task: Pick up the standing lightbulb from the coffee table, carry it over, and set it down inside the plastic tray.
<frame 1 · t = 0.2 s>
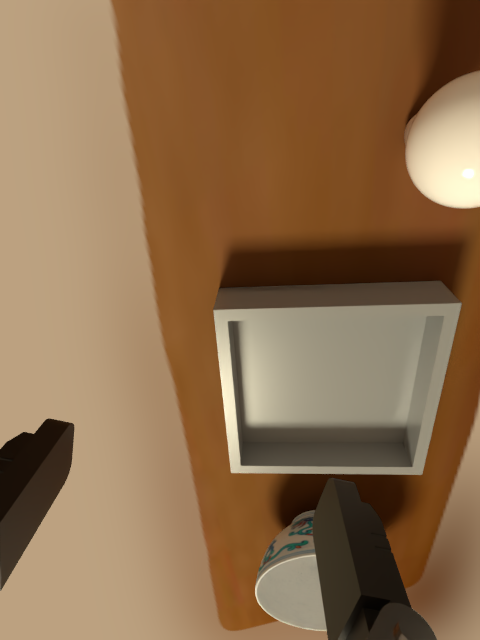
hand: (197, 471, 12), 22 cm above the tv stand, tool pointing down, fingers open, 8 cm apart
lightbulb: (420, 131, 27), on the tv stand
chinaware: (318, 525, 49), on the tv stand
tray: (323, 372, 37), on the tv stand
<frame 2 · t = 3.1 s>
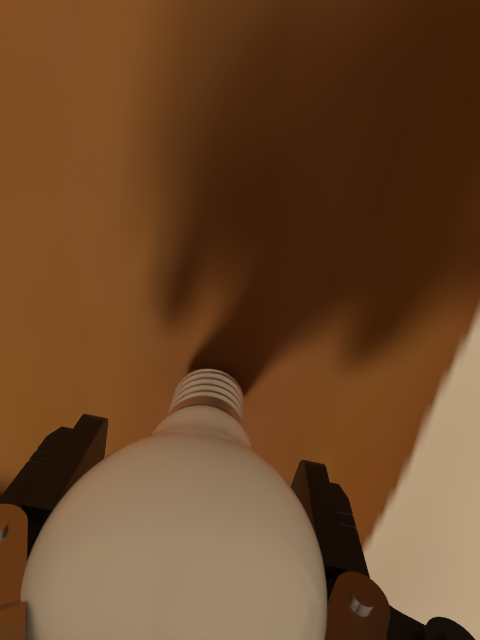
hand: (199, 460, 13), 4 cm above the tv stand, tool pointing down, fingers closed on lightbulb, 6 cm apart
lightbulb: (210, 386, 16), on the tv stand, touching gripper
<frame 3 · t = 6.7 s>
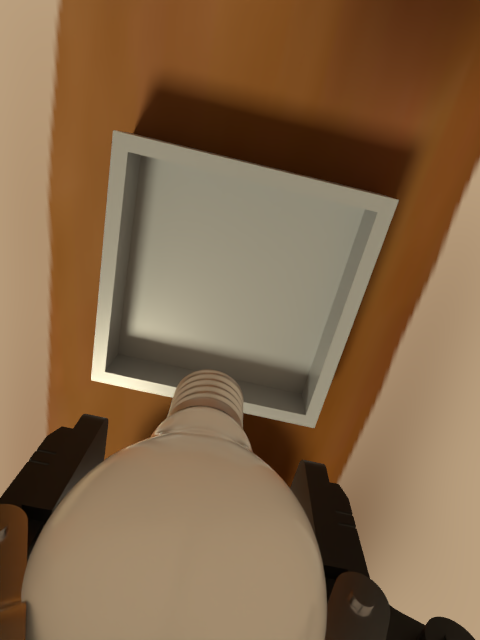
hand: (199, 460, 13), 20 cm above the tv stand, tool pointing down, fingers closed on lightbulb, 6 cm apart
lightbulb: (210, 387, 16), point 16 cm above the tv stand, touching gripper
tray: (231, 282, 31), on the tv stand
when the fingers open (6 cm above the tv stand, at t = 10.3 s): lightbulb drops 2 cm, resting on tray.
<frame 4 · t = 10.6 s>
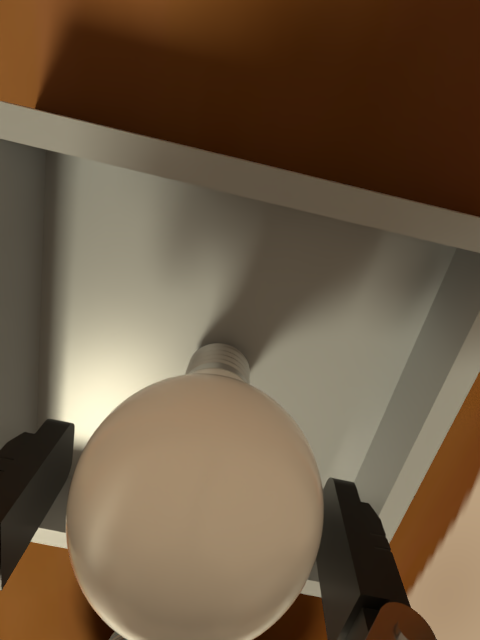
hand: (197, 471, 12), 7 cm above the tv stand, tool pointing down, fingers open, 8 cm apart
lightbulb: (219, 363, 18), point 1 cm above the tv stand, touching tray
tray: (218, 362, 19), on the tv stand
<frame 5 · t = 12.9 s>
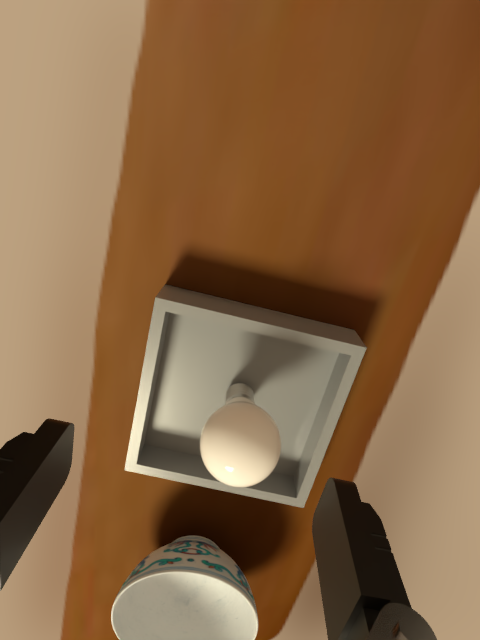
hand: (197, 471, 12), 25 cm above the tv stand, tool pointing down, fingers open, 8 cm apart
lightbulb: (239, 390, 39), point 1 cm above the tv stand, touching tray
chinaware: (194, 554, 48), on the tv stand
tray: (238, 390, 39), on the tv stand
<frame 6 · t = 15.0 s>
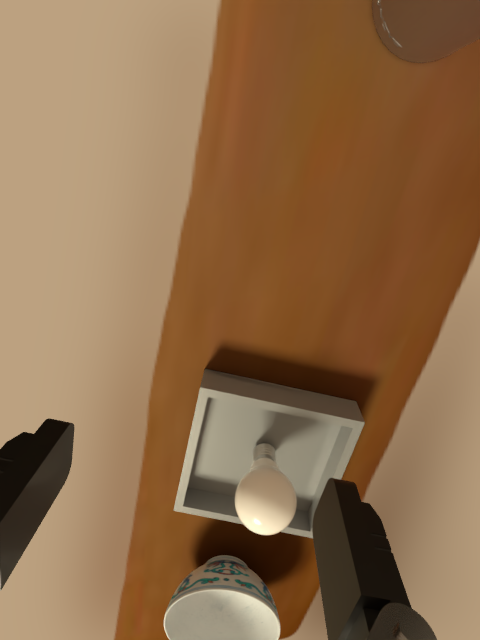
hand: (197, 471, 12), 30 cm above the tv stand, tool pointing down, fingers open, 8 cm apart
lightbulb: (264, 447, 48), point 1 cm above the tv stand, touching tray
chinaware: (226, 569, 58), on the tv stand
tray: (262, 446, 49), on the tv stand
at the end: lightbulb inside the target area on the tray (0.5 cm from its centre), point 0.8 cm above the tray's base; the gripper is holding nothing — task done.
